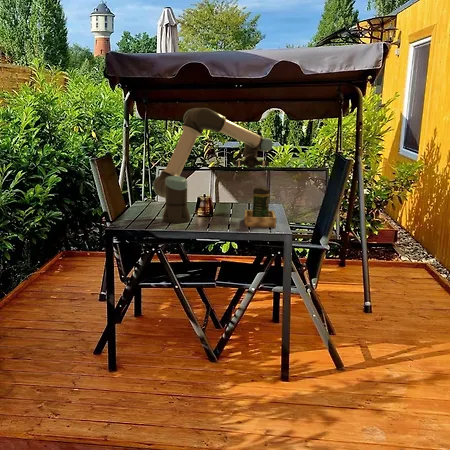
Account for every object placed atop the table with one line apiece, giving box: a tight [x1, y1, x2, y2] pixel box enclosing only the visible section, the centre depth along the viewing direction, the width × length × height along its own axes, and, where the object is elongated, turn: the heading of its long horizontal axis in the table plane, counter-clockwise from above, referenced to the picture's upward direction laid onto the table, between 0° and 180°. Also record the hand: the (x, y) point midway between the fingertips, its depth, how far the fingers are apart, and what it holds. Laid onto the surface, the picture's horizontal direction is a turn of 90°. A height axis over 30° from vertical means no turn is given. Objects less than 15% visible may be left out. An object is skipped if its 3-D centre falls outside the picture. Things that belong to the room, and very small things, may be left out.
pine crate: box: [244, 209, 277, 228], centre depth 250 cm, size 16×20×5 cm
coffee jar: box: [252, 185, 271, 217], centre depth 249 cm, size 10×8×19 cm
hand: (251, 164), depth 257 cm, fingers open, 13 cm apart
